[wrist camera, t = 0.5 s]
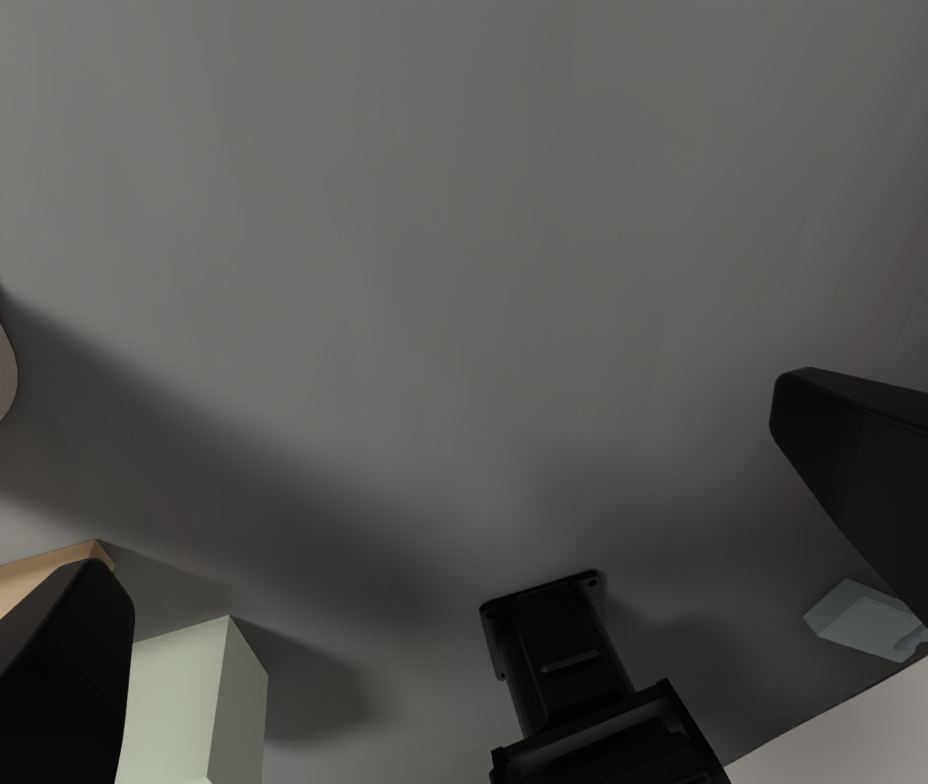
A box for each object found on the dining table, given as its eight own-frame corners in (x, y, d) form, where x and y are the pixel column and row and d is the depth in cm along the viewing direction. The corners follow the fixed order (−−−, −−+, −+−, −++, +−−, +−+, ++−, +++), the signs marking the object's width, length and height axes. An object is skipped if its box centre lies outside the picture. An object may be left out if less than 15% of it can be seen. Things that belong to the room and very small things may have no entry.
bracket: (841, 572, 37) (865, 598, 35) (921, 605, 41) (946, 629, 40) (795, 612, 38) (817, 639, 36) (878, 640, 43) (900, 665, 41)
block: (272, 681, 30) (263, 839, 24) (163, 715, 29) (126, 886, 23) (229, 614, 27) (206, 777, 21) (106, 651, 26) (47, 828, 20)
